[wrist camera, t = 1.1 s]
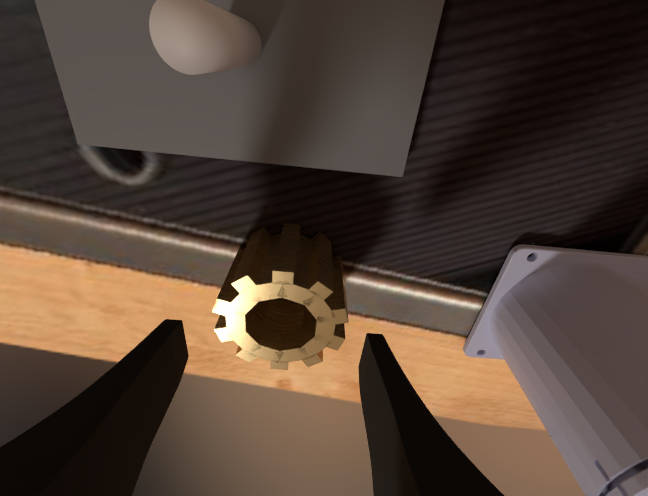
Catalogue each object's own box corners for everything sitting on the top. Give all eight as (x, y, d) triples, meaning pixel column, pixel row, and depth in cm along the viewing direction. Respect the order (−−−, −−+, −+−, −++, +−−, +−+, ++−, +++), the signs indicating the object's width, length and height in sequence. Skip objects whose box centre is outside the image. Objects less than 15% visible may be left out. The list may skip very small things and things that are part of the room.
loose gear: (349, 228, 15) (357, 277, 12) (335, 314, 18) (338, 373, 15) (233, 218, 15) (207, 265, 12) (238, 306, 18) (218, 365, 15)
